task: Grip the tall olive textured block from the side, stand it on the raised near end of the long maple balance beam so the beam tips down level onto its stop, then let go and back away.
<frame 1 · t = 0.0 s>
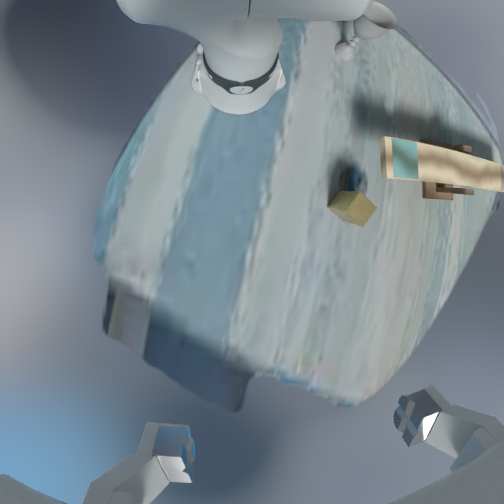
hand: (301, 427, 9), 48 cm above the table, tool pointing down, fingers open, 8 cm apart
beam stand: (436, 170, 55), on the table
chalice: (344, 52, 48), on the table
balance beam: (466, 170, 44), point 11 cm above the table, hinge at -6.0°
tall olive textured block: (341, 205, 55), on the table
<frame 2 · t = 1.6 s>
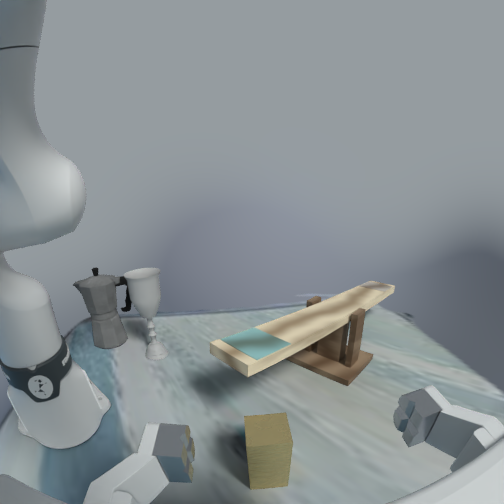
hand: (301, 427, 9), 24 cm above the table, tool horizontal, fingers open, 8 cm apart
beam stand: (330, 360, 50), on the table
chalice: (157, 354, 54), on the table
coffeepot: (114, 340, 59), on the table
balance beam: (335, 310, 48), point 11 cm above the table, hinge at -6.0°
tall olive textured block: (267, 474, 26), on the table
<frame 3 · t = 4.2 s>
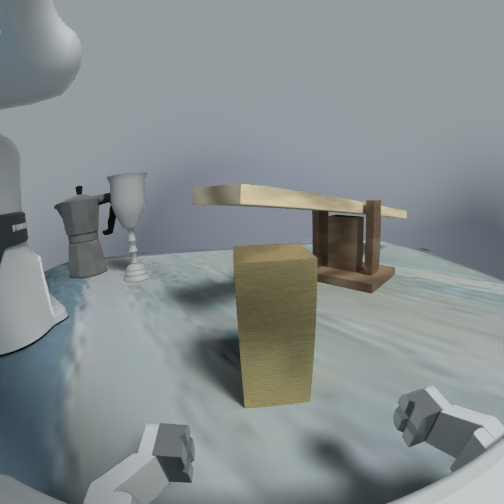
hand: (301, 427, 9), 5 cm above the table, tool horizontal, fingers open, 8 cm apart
beam stand: (344, 275, 43), on the table
chalice: (137, 278, 47), on the table
coffeepot: (93, 272, 52), on the table
balance beam: (346, 206, 41), point 11 cm above the table, hinge at -6.0°
tall olive textured block: (273, 385, 19), on the table
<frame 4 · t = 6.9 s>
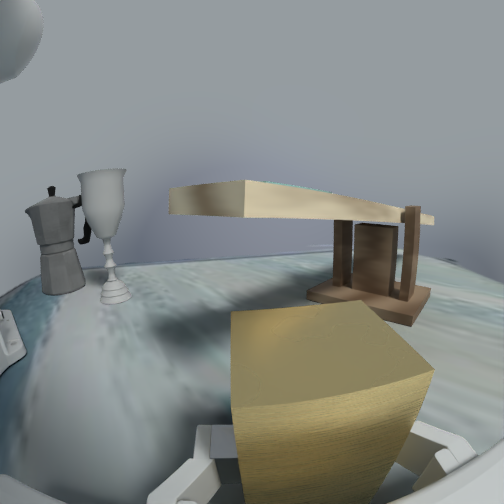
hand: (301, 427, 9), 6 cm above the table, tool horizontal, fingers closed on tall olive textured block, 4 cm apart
beam stand: (372, 298, 33), on the table
chalice: (116, 298, 37), on the table
coffeepot: (69, 288, 42), on the table
balance beam: (377, 213, 31), point 11 cm above the table, hinge at -6.0°
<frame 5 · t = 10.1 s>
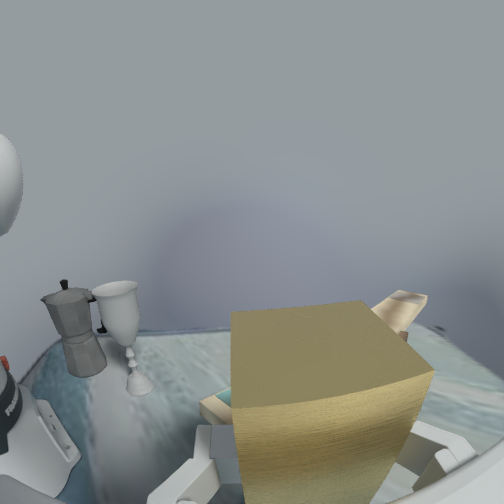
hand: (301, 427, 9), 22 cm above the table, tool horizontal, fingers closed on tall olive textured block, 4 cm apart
chalice: (140, 387, 41), on the table
coffeepot: (92, 366, 45), on the table
balance beam: (369, 335, 35), point 11 cm above the table, hinge at -6.0°
when the fingers open (20 cm above the table, at t = 13.4 s): tall olive textured block drops 3 cm, resting on balance beam.
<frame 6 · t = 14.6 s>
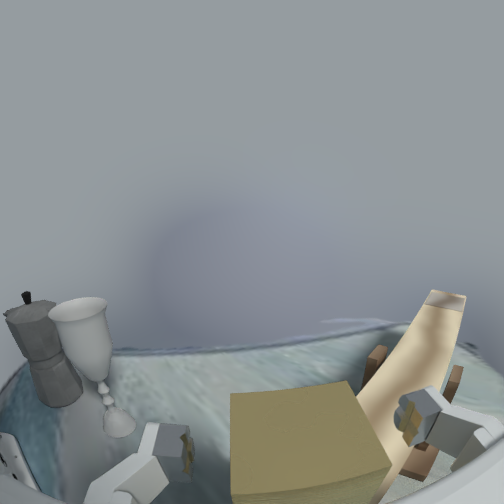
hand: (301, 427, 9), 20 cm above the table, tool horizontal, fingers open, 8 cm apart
beam stand: (390, 437, 26), on the table
chalice: (119, 426, 29), on the table
coffeepot: (66, 393, 34), on the table
balance beam: (414, 372, 23), point 11 cm above the table, hinge at 0.1°, touching tall olive textured block
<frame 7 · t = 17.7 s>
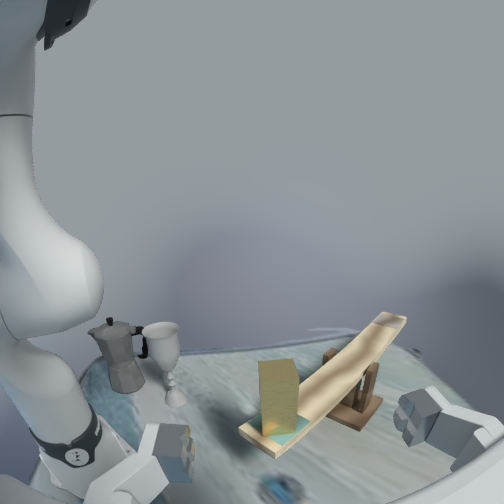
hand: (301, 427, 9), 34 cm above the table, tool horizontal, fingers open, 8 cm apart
beam stand: (343, 404, 49), on the table
chalice: (176, 400, 53), on the table
coffeepot: (132, 383, 58), on the table
balance beam: (350, 364, 47), point 11 cm above the table, hinge at 0.1°, touching tall olive textured block
tall olive textured block: (277, 424, 33), point 12 cm above the table, touching balance beam
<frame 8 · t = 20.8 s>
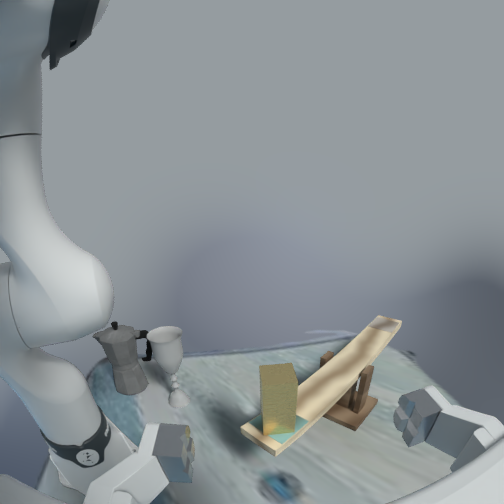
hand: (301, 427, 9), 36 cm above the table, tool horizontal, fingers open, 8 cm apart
beam stand: (339, 405, 52), on the table
chalice: (179, 401, 56), on the table
coffeepot: (135, 385, 60), on the table
balance beam: (346, 366, 49), point 11 cm above the table, hinge at 0.1°, touching tall olive textured block
tall olive textured block: (277, 423, 36), point 12 cm above the table, touching balance beam
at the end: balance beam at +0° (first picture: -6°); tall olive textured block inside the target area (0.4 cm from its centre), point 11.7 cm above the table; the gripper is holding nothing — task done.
